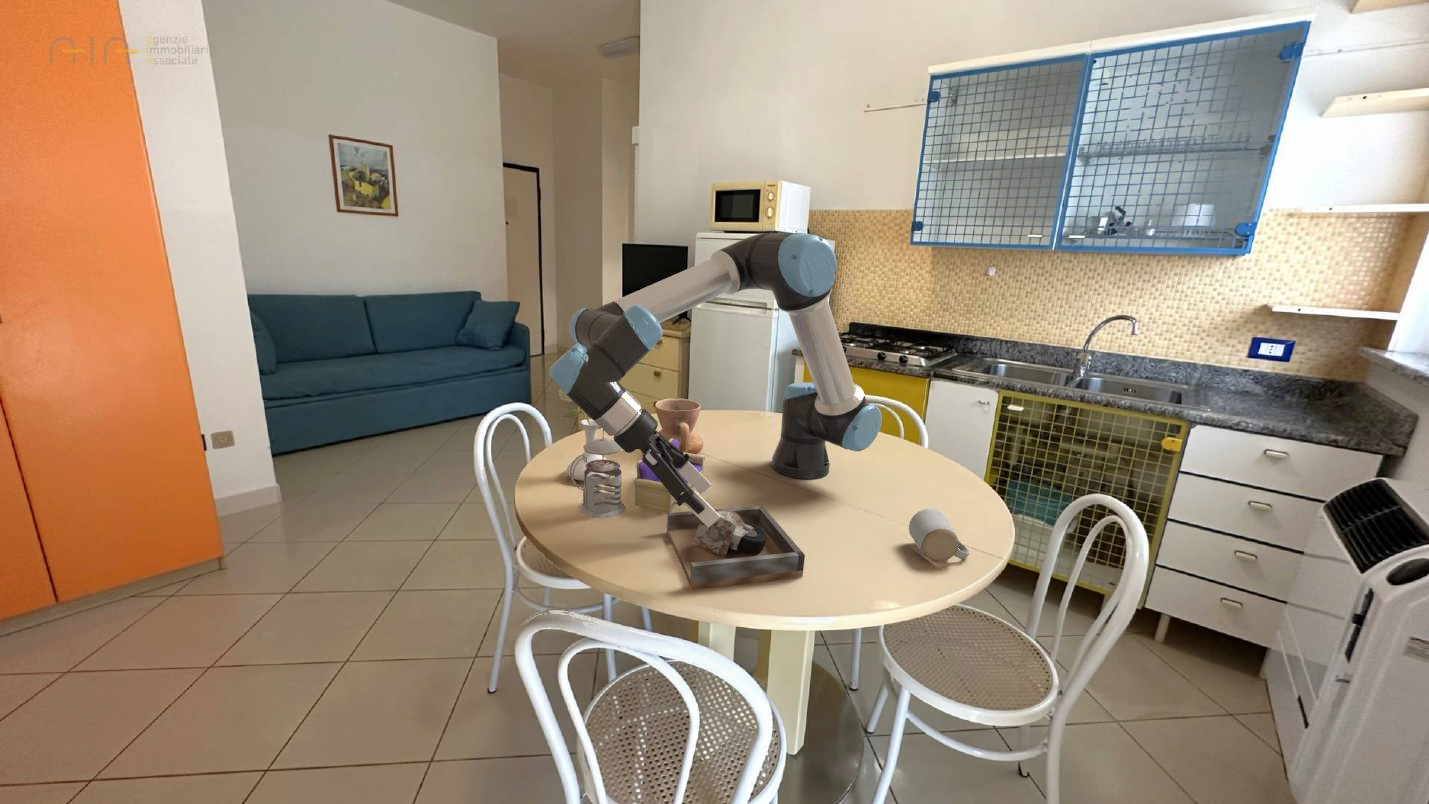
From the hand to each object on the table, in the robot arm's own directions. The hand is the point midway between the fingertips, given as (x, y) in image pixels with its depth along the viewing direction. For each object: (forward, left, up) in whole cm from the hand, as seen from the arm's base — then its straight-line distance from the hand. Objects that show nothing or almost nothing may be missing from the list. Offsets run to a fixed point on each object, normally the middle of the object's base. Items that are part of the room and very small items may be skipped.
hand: (710, 504), depth 103 cm
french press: (+18, -22, -10) cm, 30 cm away
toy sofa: (+1, -28, -10) cm, 30 cm away
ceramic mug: (-45, +8, -10) cm, 46 cm away
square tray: (-4, +1, -10) cm, 11 cm away
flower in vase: (+19, -40, -10) cm, 46 cm away
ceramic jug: (-6, -53, -10) cm, 55 cm away
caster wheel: (-5, 0, -9) cm, 10 cm away
